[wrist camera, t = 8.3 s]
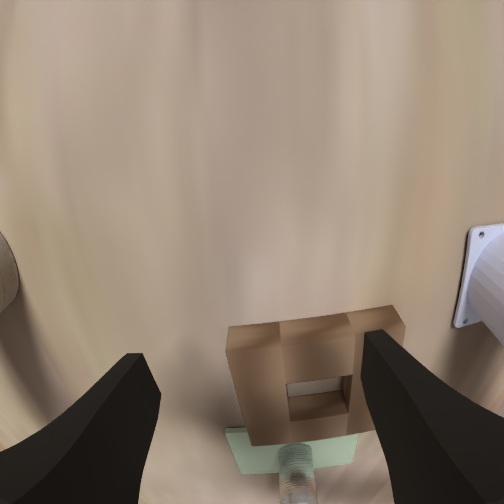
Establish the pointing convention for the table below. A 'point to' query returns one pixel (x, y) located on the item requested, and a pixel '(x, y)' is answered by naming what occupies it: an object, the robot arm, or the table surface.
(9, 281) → the thermos bottle
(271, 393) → the eye block
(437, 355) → the table surface
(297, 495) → the steel peg
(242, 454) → the sage mat
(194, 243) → the table surface
